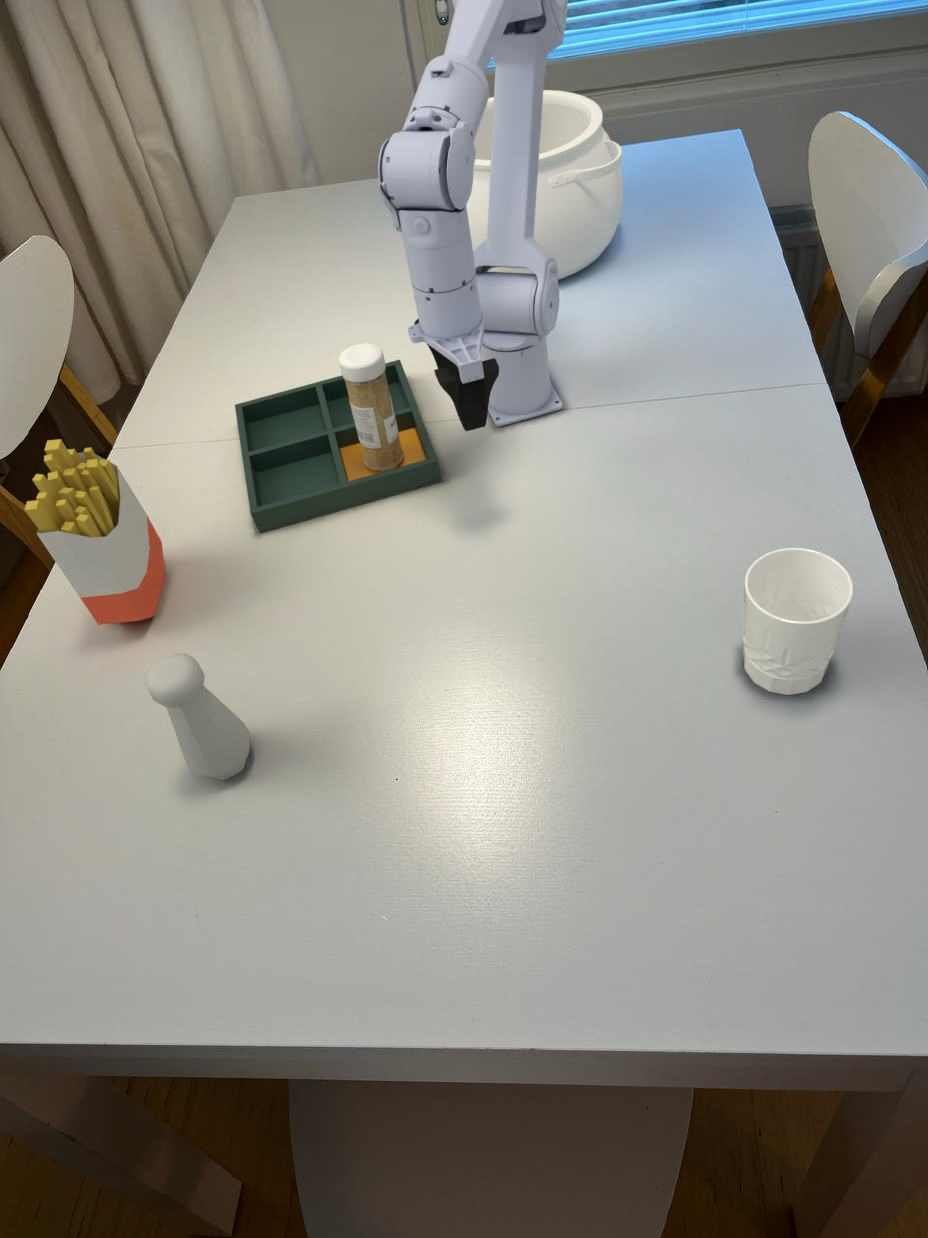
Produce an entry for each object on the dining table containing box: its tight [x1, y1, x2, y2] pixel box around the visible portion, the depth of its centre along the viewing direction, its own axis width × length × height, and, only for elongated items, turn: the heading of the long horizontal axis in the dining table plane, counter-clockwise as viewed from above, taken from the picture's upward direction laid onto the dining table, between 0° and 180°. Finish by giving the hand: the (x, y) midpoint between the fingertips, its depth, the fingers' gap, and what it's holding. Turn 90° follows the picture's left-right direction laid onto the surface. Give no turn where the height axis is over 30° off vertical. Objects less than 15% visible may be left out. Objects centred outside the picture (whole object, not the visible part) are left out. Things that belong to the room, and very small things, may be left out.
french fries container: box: [24, 438, 166, 626], centre depth 90 cm, size 5×11×18 cm, turn 0°
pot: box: [466, 89, 624, 280], centre depth 125 cm, size 29×26×16 cm
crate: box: [234, 359, 443, 534], centre depth 106 cm, size 20×20×3 cm
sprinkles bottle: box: [338, 342, 404, 472], centre depth 99 cm, size 5×5×13 cm
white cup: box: [742, 547, 854, 696], centre depth 76 cm, size 8×8×10 cm
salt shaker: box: [144, 652, 252, 782], centre depth 77 cm, size 6×6×13 cm
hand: (465, 404), depth 92 cm, fingers open, 7 cm apart
